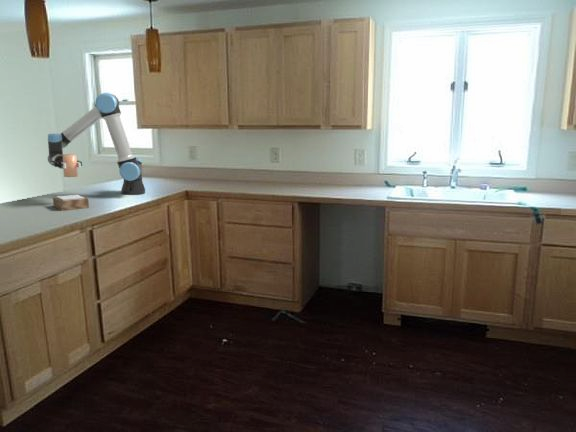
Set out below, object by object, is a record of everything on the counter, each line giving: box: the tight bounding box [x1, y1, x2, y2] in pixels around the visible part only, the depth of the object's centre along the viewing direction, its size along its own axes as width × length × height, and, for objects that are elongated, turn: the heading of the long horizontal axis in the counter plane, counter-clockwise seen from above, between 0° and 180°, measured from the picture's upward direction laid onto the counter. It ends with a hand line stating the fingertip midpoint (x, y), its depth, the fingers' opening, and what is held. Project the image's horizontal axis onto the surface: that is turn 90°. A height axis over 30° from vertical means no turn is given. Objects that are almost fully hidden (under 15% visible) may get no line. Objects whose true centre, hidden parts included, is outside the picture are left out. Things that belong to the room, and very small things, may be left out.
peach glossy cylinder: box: [63, 153, 78, 178], centre depth 257 cm, size 7×7×12 cm
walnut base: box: [52, 194, 90, 212], centre depth 252 cm, size 14×14×6 cm
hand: (72, 165), depth 253 cm, fingers closed on peach glossy cylinder, 7 cm apart
